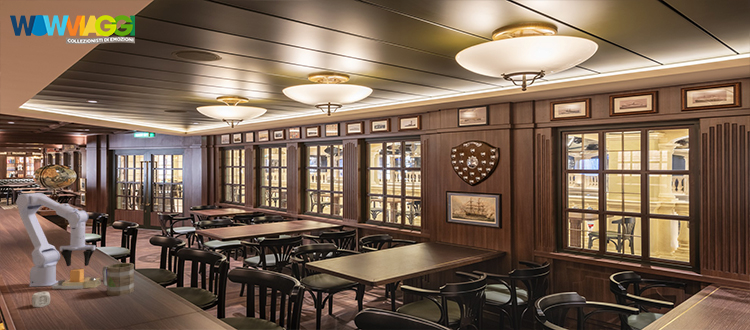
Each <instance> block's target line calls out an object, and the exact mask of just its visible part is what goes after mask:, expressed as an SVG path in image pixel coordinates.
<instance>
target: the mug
mask: <svg viewBox="0 0 750 330" xmlns="http://www.w3.org/2000/svg"><path fill="white" fill-rule="evenodd" d="M106 269H107V281H106ZM134 271H135V264H134V263H132V262H120V263H113V264H110V265H105V266H103V267H102V284H103V286H105V287H106V295H107V296H111V297H113V296H114V297H119V296H125V295H129V294H132V293H133V292H135V283H134V282H135V272H134ZM131 292H132V293H131Z"/></svg>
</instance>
